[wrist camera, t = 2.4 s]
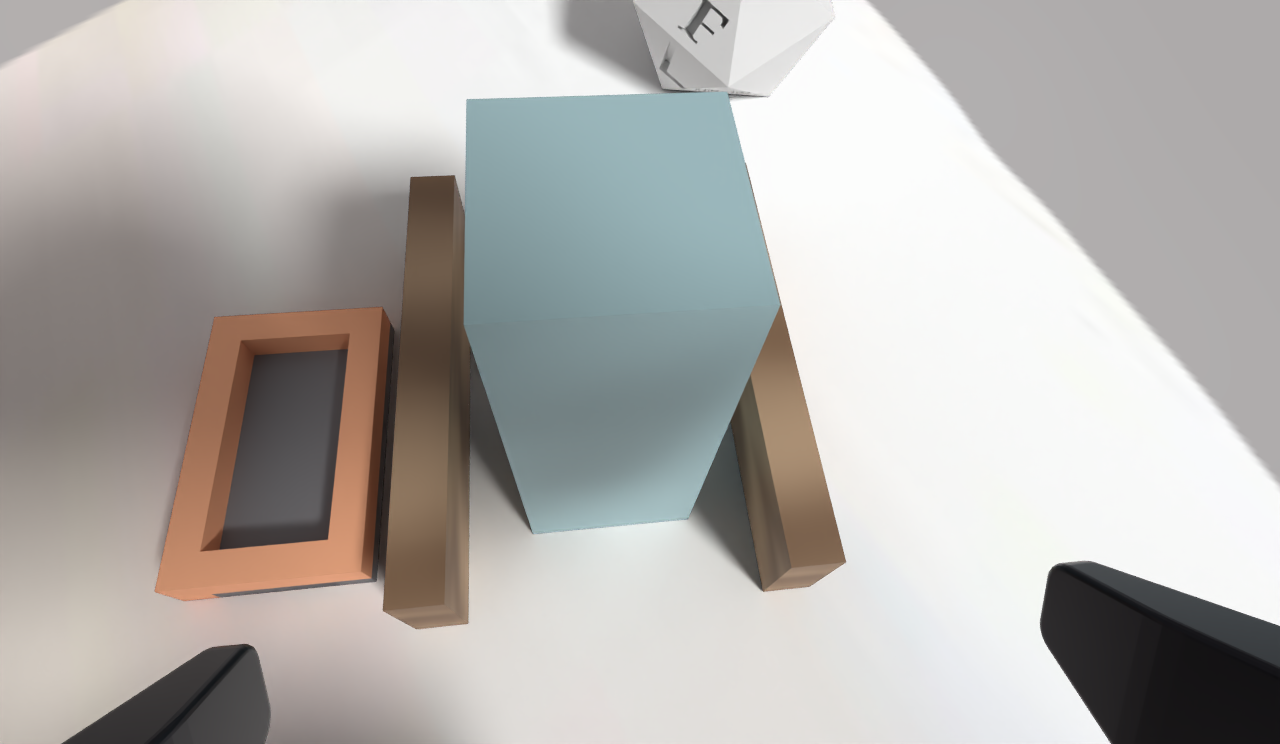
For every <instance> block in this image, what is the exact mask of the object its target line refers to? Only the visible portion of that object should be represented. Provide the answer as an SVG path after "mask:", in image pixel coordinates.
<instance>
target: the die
mask: <svg viewBox="0 0 1280 744" xmlns="http://www.w3.org/2000/svg"><path fill="white" fill-rule="evenodd" d="M633 4H634V7H635V9H636V12H637V15H638V18H639V21H640V24H641V27H642V30H643V33H644V36H645V39H646V42H647V45H648V48H649V51H650V54H651V57H652V60H653V63H654V66H655V69H656V72H657V75H658V78H659V81H660V84H661V87H662V89H669V90H683V91H697V92H727V93H728V94H738V95H751V96H765V97H769V96H770V95H771V94H772V93H773V92H774V90H775V89H776V88H777V87H778V86H779V84H780V83H781V82H782V81H783V80H784V78H785V77H786V76H787V75H788V73H789V72H790V71H791V70H792V69H793V67H794V66H795V65H796V64H797V63H798V61H799V60H800V59H801V58H802V57H803V55H804V54H805V53H806V52H807V51H808V49H809V48H810V47H811V46H812V44H813V43H814V42H815V41H816V40H817V38H818V37H819V36H820V35H821V34H822V32H823V31H824V30H825V29H826V28H827V26H828V25H829V24H830V23H831V22H832V20H833V19H834V18H835V14H834V9H833V3H832V0H633Z"/></svg>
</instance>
